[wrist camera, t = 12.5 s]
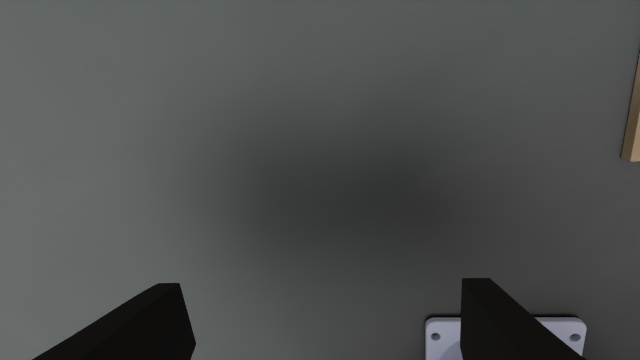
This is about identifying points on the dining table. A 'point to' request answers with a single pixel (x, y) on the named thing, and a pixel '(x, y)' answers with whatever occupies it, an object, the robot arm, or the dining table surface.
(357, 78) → the dining table surface
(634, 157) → the beige flat square sheet
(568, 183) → the dining table surface
